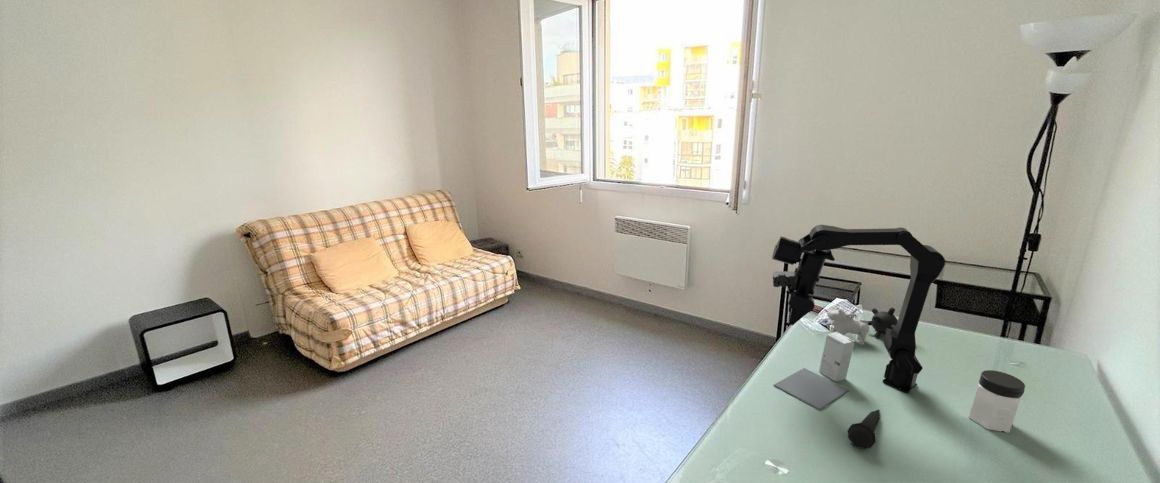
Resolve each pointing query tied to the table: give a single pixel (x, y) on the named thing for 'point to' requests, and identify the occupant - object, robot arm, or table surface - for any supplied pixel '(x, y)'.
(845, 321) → the dog figurine
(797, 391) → the mat
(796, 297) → the robot arm
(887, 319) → the toy ball
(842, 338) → the skincare box
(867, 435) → the microphone
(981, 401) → the jar
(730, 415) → the table surface
